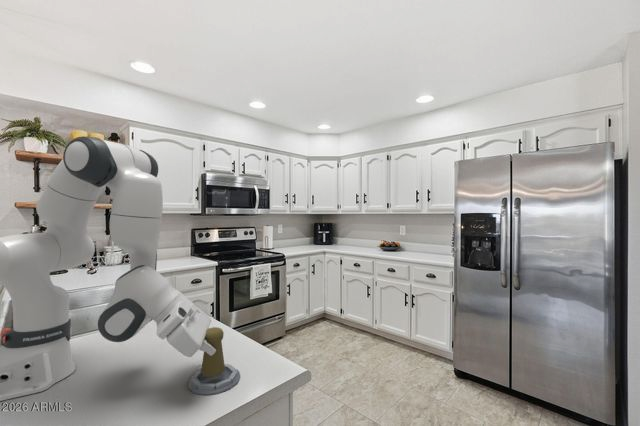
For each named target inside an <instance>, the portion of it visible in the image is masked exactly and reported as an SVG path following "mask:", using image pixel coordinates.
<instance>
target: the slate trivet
mask: <svg viewBox="0 0 640 426" xmlns="http://www.w3.org/2000/svg"><path fill="white" fill-rule="evenodd" d="M224 365H225V370H224V372H223V373H221V374H219V375H216V376H211V377H206V376H203V375H202V374H201V369H202V367H201V368H199V369H198V370H196V372H195V373H194V374H193V375H192V376H191V377H189V379H188V382H187V386H188V389H189V391H190V392H191V393H193V394H195V395H198V396H213V395H219V394H221V393H224V392H227V391H229V390H231V389H233V388H234V387H235V386H236V385H238V383H239V381H240V378H241V373H240V370H238V369H237V368H235V367H234V366H233V365H232V364H229V363H227V364H226V363H224Z"/></svg>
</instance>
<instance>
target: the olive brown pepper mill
mask: <svg viewBox="0 0 640 426" xmlns="http://www.w3.org/2000/svg"><path fill="white" fill-rule="evenodd" d="M224 334H225V333H224V331H223V329H222V328H220V327H219V326H217V327H215V326H214V327H210V328H209V329H207V330H206V335H205V338H204V339H205V340H206V341H207V343H208V344H210V345H213V346H214V347H216V352H215V353H214V354H213V355H212V356H210V355H209V354H208V353H207V352H204V351H203V354H202V355H203V356H202V364H201V368H202V369H201V368H200V369H201V374H202V375H203V376H206V377H211V376H216V375H219V374H221V373H223V372H224V370H225V365H224V364H225V358H224V351H223V344H222V343H223V342H222V341H223V339H224Z"/></svg>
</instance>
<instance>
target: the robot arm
mask: <svg viewBox="0 0 640 426" xmlns="http://www.w3.org/2000/svg"><path fill="white" fill-rule="evenodd" d="M158 175H159V164H158V162H157V160H156V159H155V157H153V156H152V155H151V154H149V153H148V152H146V151H144V150H142V149H137V148H135V147H133V146H131V145H127V144H124V143H121V142H115V141H111V140H105V139H101V138H100V137H95V136H83V135H82V136H76V137H75V138H73V139H71V140H70V141H69V142H68V143H67V145H66V146H65V148H64V151H63V156H62V159H61V160H60V162H59V163H58V165H57V166H56V167H55V169H54V170H53V172H52V174H51V175H50V177H49V178H48V181H47V183H46V185H45V187H44V190H42V194H41V195H40V197H39V199H38V201H37V204H36V207H35V209H36V214H37V215H38V217H39V218H40V219H41V220H42V221H43V222H45V223H47V227H46V229H45V231H43V232H39V233H20V234H18V233H16V234H9V235H5V236H1V237H0V284H1V286H2V287H4V288H5V289H6V291H7V292H8V294H9V296H10V299H11V303H12V320H13V321H12V322H13V323H12V328H10V327H6V328H3V329H2V330H1V331H0V337H1V339H0V344H1V346H0V402H2V401H7V400H10V399H14V398H15V399H16V398H19V397H24V396H27V395H33V394H36V393H41V392H43V391H46V390H48V389H49V388H50V387H52V386H53V385H54V384H56V383H58V382H60V381H62V380H64V379H65V378H67V377H69V376H71V375H72V374H73V373H74V372H75V370H76V364H75V362H74V358H73V355H72V349H71V341H70V340H71V339H72V338H71V337H72V321H71V319H70V294H69V292H68V290H66V289H65V288H64V287H61V286H58V285H55V284H54V283H53V282H52V280H51V276H50V275H51V273H54V272H59V271H64V270H70V269H74V268H76V267H79V266H82V265H85V264H87V263H89V262H90V261H91V260H92V258H94V255H95V251H96V250H95V249H96V248H95V243H94V241H93V239H92V237H90V235H88V232H87V228H88V227H87V226H88V222H89V219H90V216H91V214H92V212H93V209H94V207H95V205H96V203H97V201H98V199H99V197H100V195H101V193H102V190H103V189H104V187H107V188H108V189H109V190H110V192H111V195H112V203H111V211H110V216H109V217H110V218H109V235H110V240H111V242H112V243H113V244H114V245H115V246H116V247H118V249H121V250H122V251H124V252H125V253H126V254H127V255H128V257H129V260H130V261H129V262H130V263H129V264H130V265H129V266H130V268H129V269H130V270H128V271H126V272H125V273H124V274H122V275H121V276H119V277H118V278H117V279H116V281H115V283H114V290H113V293H112V296H111V298H110V300H109V302H108V303H107V305H106V307H105V308H104V310H103V311H102V313H100V316H99V317H98V319H97V320H98V321H97V329H98V331H99V333H100V335H101V336H102V337H103V338H104V339H105V340H108V341H109V342H114V343H122V342H125V341H128V340H129V339H131V338H134V337H135V336H136V335H137V334H138V333H140V331H142V329H144V328H145V326H147V325H148V324H149V323H151V322H152V321H153V322H155V323H156V336H157V337H159V338H160V340H165V339H166V341H167V343H168V344H169V345H171V346H172V347H173V348H174V349H175V350H176V351H178V352H179V353H180V354H182V355H183V356H185V357H189V358H192V357H193V356H194V355H196V353H197V352H198V351H202V352H203V353H204V352H207V353H208V354H209V355H210V356H212V355H213V354H214V353H215V352H216V347H214V346H213V345H210V344H208V343H207V341H206V340H205V339H204V338H205V335H206V330H207V329H209V327H210V325H211V323H212V318H211V317H210V315H208V314H207V313H206V312H205V311H203V310H202V309H201V308H200V307H198V306H196V305H195V303H194V302H192V300H190V298H188V297H187V296H186V295H185V294H184V293H182V292H181V291H180V290H178V289H176V288H174V286H172V284H171V282H170V281H169V280H168V279H167V278H165V276H163V274H161V273H160V272H159V271H157V261H158V245H159V238H160V232H161V226H162V218H163V209H164V208H163V205H164V204H163V187H162V183H161V181H160V180H159V179H158Z"/></svg>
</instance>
